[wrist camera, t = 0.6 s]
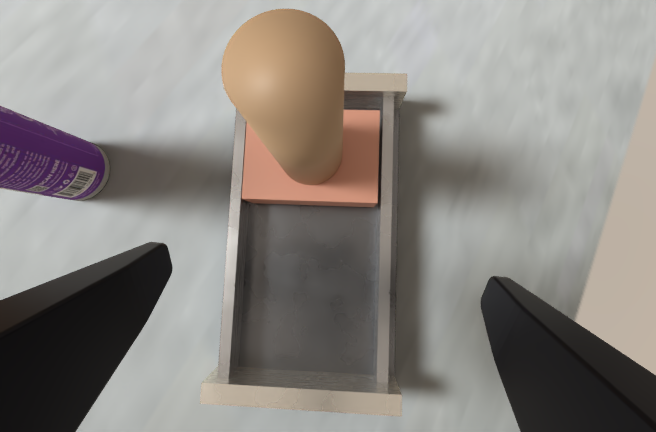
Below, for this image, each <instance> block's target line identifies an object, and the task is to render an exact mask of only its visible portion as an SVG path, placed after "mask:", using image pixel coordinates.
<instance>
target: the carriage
mask: <svg viewBox="0 0 656 432" xmlns="http://www.w3.org/2000/svg"><path fill="white" fill-rule="evenodd" d="M344 78H345V60H344V54H343V50H342V47H341V44H340V42H339V40H338V38H337V36H336V35H335V33H334V32H333V31H332V30H331V28H330V27H329V26H328V25H327V24H326V23H324V22H323V21H322V20H320V19H319V18H317V17H316V16H314V15H312V14H310V13H307V12H304V11H300V10H295V9H276V10H271V11H267V12H264V13H261V14H259V15H257V16H255V17H253V18H251V19H250V20H248V21H247V22H246V23H244V24H243V25H242V26H241V27H240V28H239V29H238V30H237V31H236V32H235V34H234V35H233V36H232V38H231V39H230V41H229V43H228V45H227V47H226V49H225V52H224V56H223V60H222V80H223V84H224V88H225V90H226V93H227V95H228V97H229V98H230V100H231V102H232V103H233V104H234V106H235V107H236V108H237V110H238V111H239V112H240V114H241V115H242V116H243V117H244V119H245V120H246V121H247V124H246V140H245V155H244V170H243V185H242V199H244V200H246V201H248V202H250V203H261V204H290V205H319V206H348V207H374V206H375V205H376V204H377V203H378V165H379V125H380V110H344Z"/></svg>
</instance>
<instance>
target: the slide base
mask: <svg viewBox="0 0 656 432" xmlns="http://www.w3.org/2000/svg"><path fill="white" fill-rule="evenodd" d="M224 90H225V88H224ZM225 91H226V90H225ZM406 92H407V74H391V73H345V78H344V110H380V125H379V165H378V203H377V204H376V205H375V206H374V207H348V206H319V205H290V204H261V203H250V202H248V201H246V200H244V199H242V185H243V170H244V155H245V140H246V124H247V121H246V120H245V119H244V117H243V116H242V115H241V114H240V112H239V111H238V110H237V108H236V120H235V134H234V149H233V163H232V177H231V192H230V206H229V220H228V235H227V249H226V263H225V278H224V292H223V306H222V321H221V335H220V349H219V364H218V367H217V368H216V369H215V370H214V371H213V372H212V373H211V374H210V375H209V376H208V377H207V378H206V379H205V380H204V381H203V382H202V384H201V397H200V404H214V405H230V406H246V407H261V408H277V409H293V410H308V411H324V412H339V413H355V414H371V415H386V416H402V394H401V391H400V389H399V386H398V384H397V382H396V379H395V377H394V363H395V309H396V256H397V202H398V148H399V108H400V106H401V104H402V102H403V99H404V97H405V95H406Z"/></svg>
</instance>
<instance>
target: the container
mask: <svg viewBox="0 0 656 432" xmlns="http://www.w3.org/2000/svg"><path fill="white" fill-rule="evenodd" d="M109 173H110V164H109V160H108V158H107V155H106V154H105V152H104V151H103V150H102V149H101V148H100V147H98V146H97V145H95V144H93V143H90V142H88V141H86V140H83V139H81V138H78V137H76V136H73V135H71V134H68V133H66V132H63V131H61V130H58V129H56V128H54V127H51V126H49V125H46V124H44V123H41V122H39V121H36V120H34V119H31V118H29V117H26V116H24V115H21V114H19V113H17V112H14V111H12V110H9V109H7V108H4V107H2V106H0V188H1V189H7V190H13V191H20V192H26V193H32V194H38V195H44V196H51V197H57V198H63V199H69V200H86V199H89V198H91V197H93V196H95V195H96V194H98V193H99V192H100V191H101V190H102V189H103V187H104V186H105V184H106V183H107V180H108V178H109Z"/></svg>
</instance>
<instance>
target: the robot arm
mask: <svg viewBox="0 0 656 432" xmlns="http://www.w3.org/2000/svg"><path fill="white" fill-rule="evenodd" d="M171 273H172V263H171V259H170V255H169V251H168V247H167V245H166V244H164V243H157V242H149V243H146V244H144V245H141V246H139V247H136V248H133V249H131V250H128V251H126V252H123V253H121V254H118V255H115V256H113V257H110V258H108V259H105V260H103V261H100V262H98V263H95V264H92V265H90V266H87V267H85V268H82V269H80V270H77V271H75V272H72V273H69V274H67V275H64V276H62V277H59V278H57V279H54V280H51V281H49V282H46V283H44V284H41V285H39V286H36V287H34V288H31V289H28V290H26V291H23V292H21V293H18V294H16V295H13V296H10V297H8V298H5V299H3V300H0V432H76V430H77V429H78V427H79V426H80V424H81V423H82V421H83V419H84V418H85V416H86V415H87V413H88V412H89V410H90V409H91V407H92V406H93V404H94V402H95V401H96V399H97V398H98V396H99V395H100V393H101V392H102V390H103V389H104V387H105V386H106V384H107V382H108V381H109V379H110V378H111V376H112V375H113V373H114V372H115V370H116V369H117V367H118V366H119V364H120V362H121V361H122V359H123V358H124V356H125V355H126V353H127V352H128V350H129V349H130V347H131V346H132V344H133V342H134V341H135V339H136V338H137V336H138V335H139V333H140V332H141V330H142V328H143V327H144V325H145V324H146V322H147V320H148V318H149V317H150V315H151V313H152V311H153V309H154V307H155V305H156V303H157V301H158V299H159V297H160V295H161V293H162V292H163V290H164V288H165V286H166V284H167V282H168V280H169V278H170V276H171ZM481 310H482V314H483V318H484V322H485V326H486V330H487V333H488V337H489V341H490V345H491V349H492V353H493V357H494V360H495V363H496V366H497V369H498V372H499V375H500V377H501V380H502V383H503V385H504V388H505V391H506V393H507V396H508V399H509V402H510V404H511V407H512V410H513V412H514V415H515V418H516V420H517V423H518V426H519V429H520V431H521V432H656V375H654V374H653V373H651V372H650V371H648V370H647V369H645V368H644V367H642V366H641V365H639V364H638V363H636V362H635V361H633V360H632V359H630V358H629V357H627V356H626V355H624V354H622V353H621V352H620V351H618V350H616V349H615V348H613V347H612V346H611V345H609V344H608V343H606V342H604V341H603V340H602V339H600V338H599V337H597V336H596V335H594V334H592V333H591V332H590V331H588V330H587V329H585V328H583V327H582V326H580V325H579V324H577V323H576V322H574V321H573V320H571V319H570V318H568V317H567V316H565V315H564V314H562V313H561V312H559V311H558V310H556V309H555V308H553V307H552V306H550V305H549V304H547V303H546V302H544V301H543V300H541V299H540V298H538V297H537V296H535V295H534V294H532V293H531V292H529V291H528V290H526V289H525V288H523V287H522V286H520V285H519V284H517V283H516V282H514V281H513V280H511V279H510V278H507V277H499V276H493V277H491V278H490V279H489V281H488V283H487V285H486V288H485V290H484V293H483V295H482V298H481Z"/></svg>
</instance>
